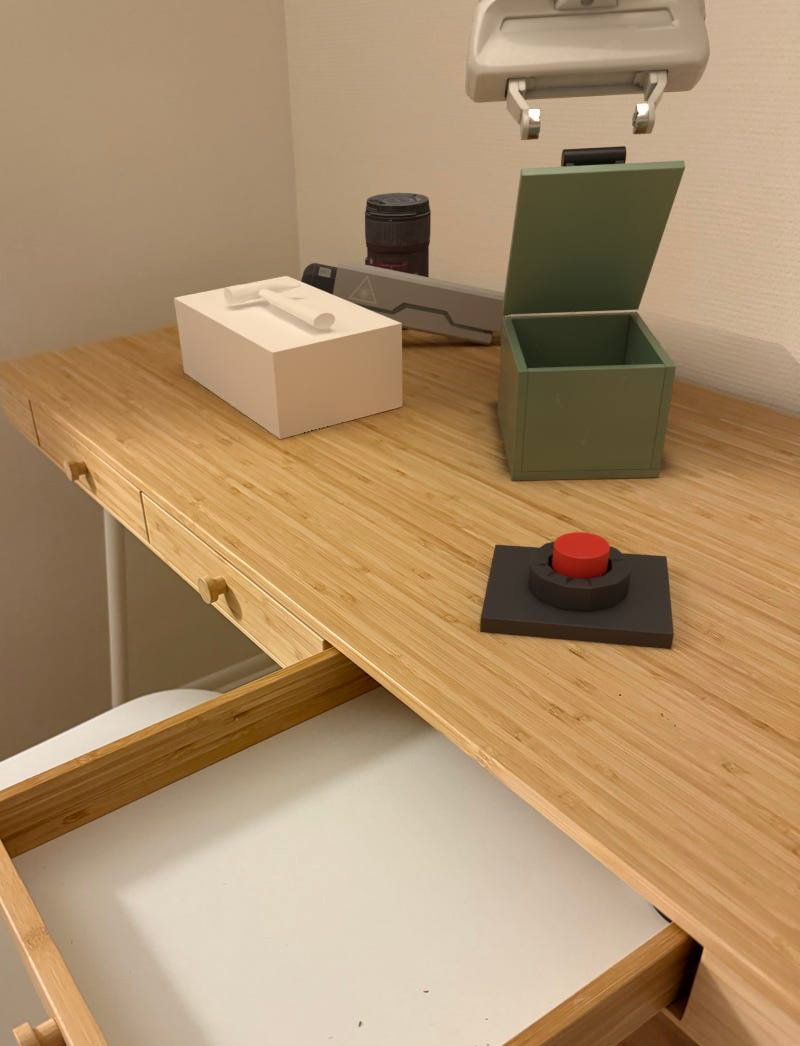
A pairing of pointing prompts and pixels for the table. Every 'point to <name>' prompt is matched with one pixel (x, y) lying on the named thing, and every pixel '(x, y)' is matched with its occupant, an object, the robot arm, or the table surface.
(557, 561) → the button
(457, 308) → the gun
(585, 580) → the button box
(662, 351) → the green box
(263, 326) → the white rectangular box
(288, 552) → the table surface
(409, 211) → the camera lens
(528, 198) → the box lid
